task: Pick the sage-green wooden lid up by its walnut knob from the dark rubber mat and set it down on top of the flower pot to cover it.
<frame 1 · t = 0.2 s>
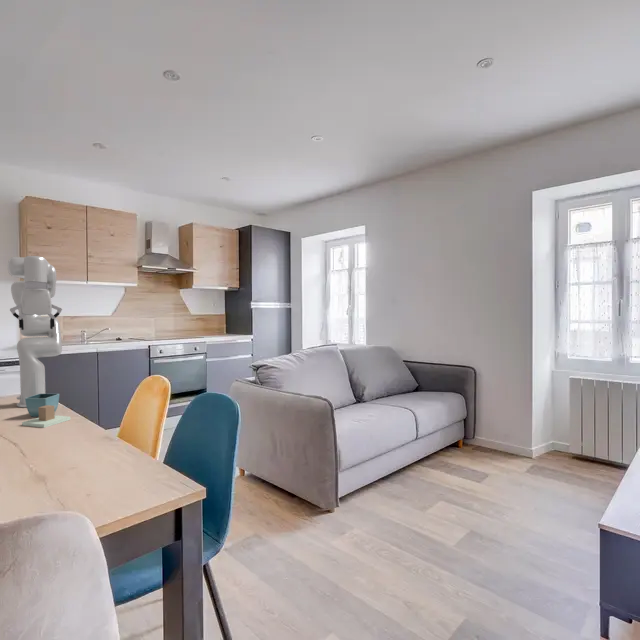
hand: (37, 329, 163), 37 cm above the table, tool pointing down, fingers open, 9 cm apart
flower pot: (43, 417, 167), on the table
lid: (46, 422, 156), point 1 cm above the table, touching mat
mat: (46, 425, 156), on the table
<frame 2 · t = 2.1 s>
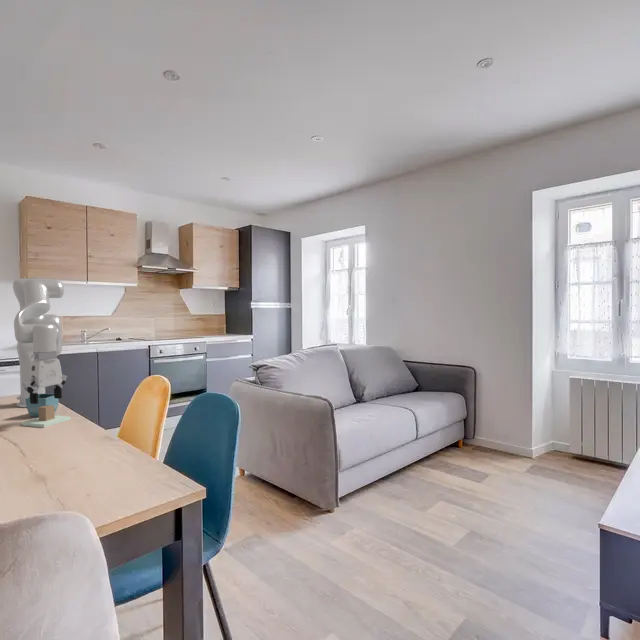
hand: (46, 400, 155), 9 cm above the table, tool pointing down, fingers open, 9 cm apart
nothing on the table moved.
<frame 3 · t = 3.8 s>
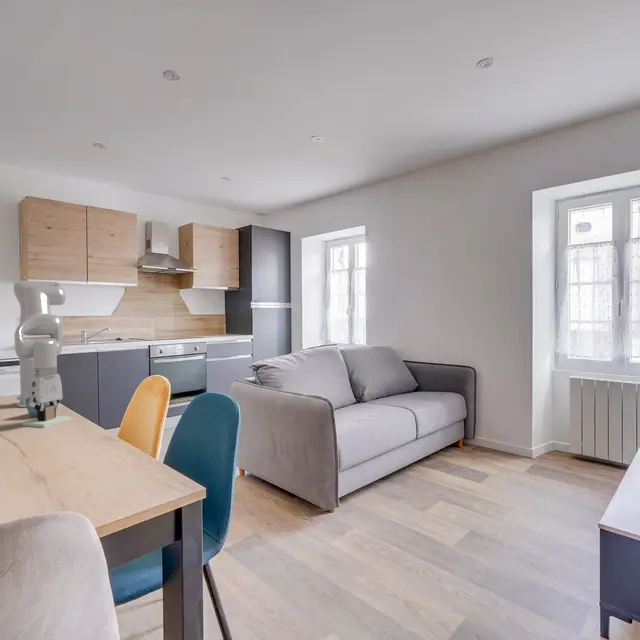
hand: (46, 418, 156), 2 cm above the table, tool pointing down, fingers closed on lid, 3 cm apart
lid: (46, 422, 156), point 1 cm above the table, touching gripper, mat
everything else where it was.
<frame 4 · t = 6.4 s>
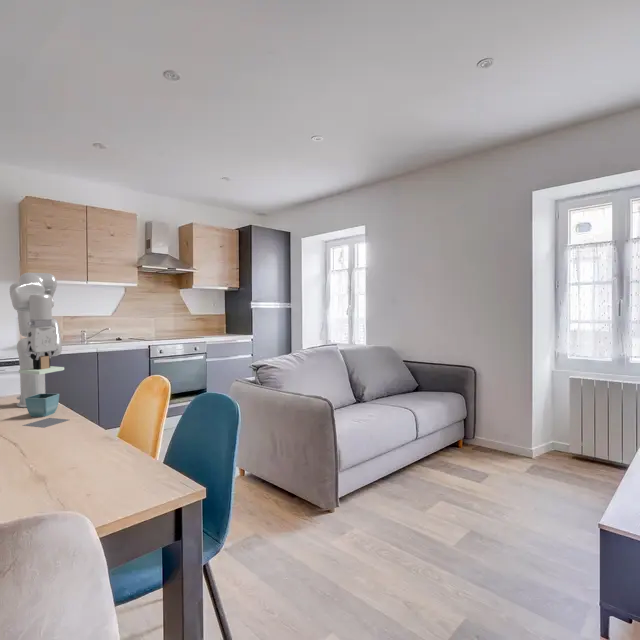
hand: (41, 367, 166), 21 cm above the table, tool pointing down, fingers closed on lid, 3 cm apart
lid: (42, 371, 166), point 19 cm above the table, touching gripper
everything else where it was.
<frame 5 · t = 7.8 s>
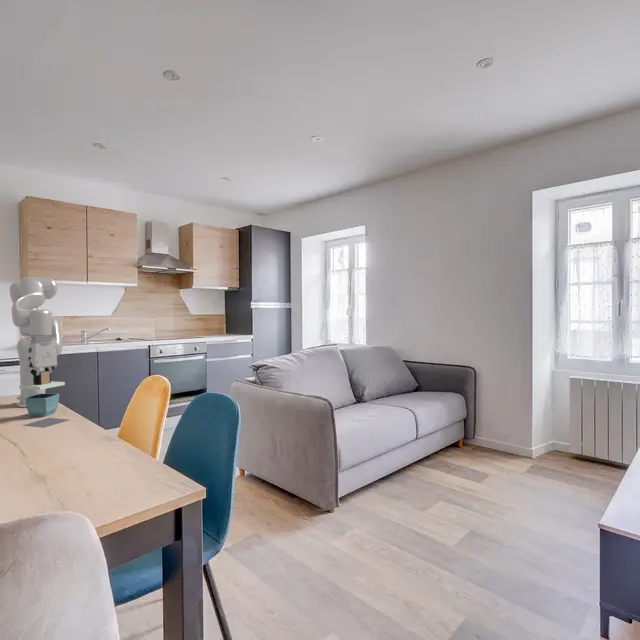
hand: (42, 383, 167), 14 cm above the table, tool pointing down, fingers closed on lid, 3 cm apart
lid: (42, 386, 167), point 13 cm above the table, touching gripper
everything else where it was.
when the fingers open (12 cm above the table, at t = 8.9 s): lid drops 2 cm, resting on flower pot.
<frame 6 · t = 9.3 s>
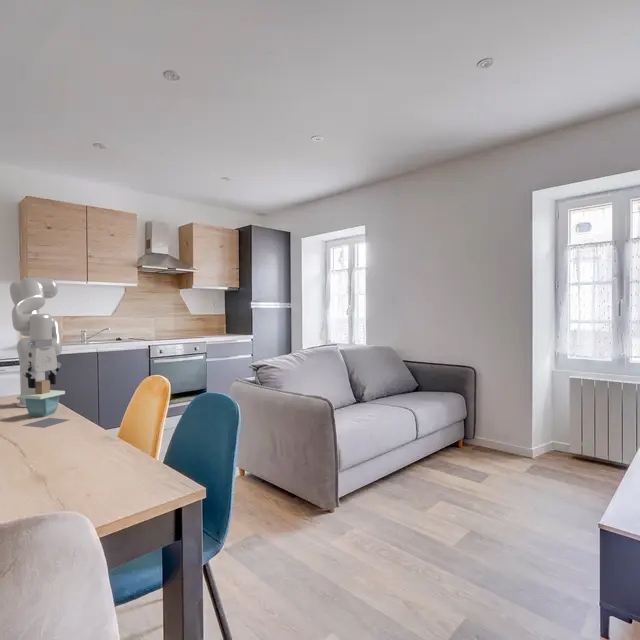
hand: (42, 385, 167), 13 cm above the table, tool pointing down, fingers open, 8 cm apart
flower pot: (43, 417, 167), on the table, touching lid
lid: (42, 395, 167), point 9 cm above the table, touching flower pot
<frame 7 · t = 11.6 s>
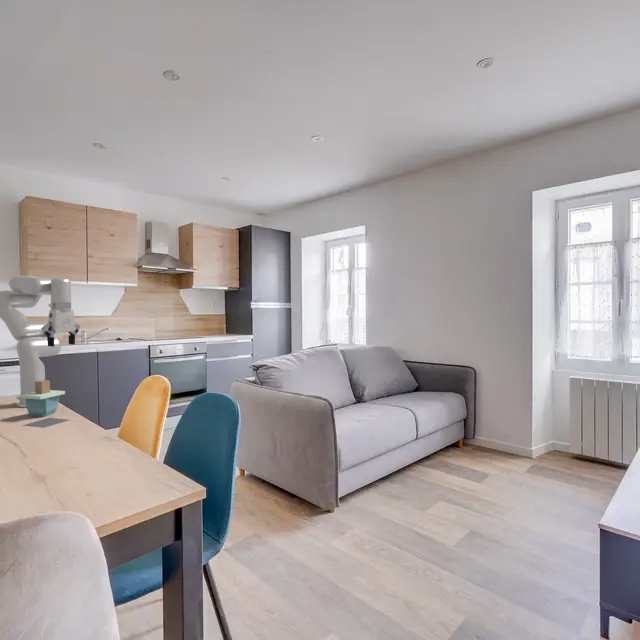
hand: (61, 345, 178), 29 cm above the table, tool pointing down, fingers open, 9 cm apart
nothing on the table moved.
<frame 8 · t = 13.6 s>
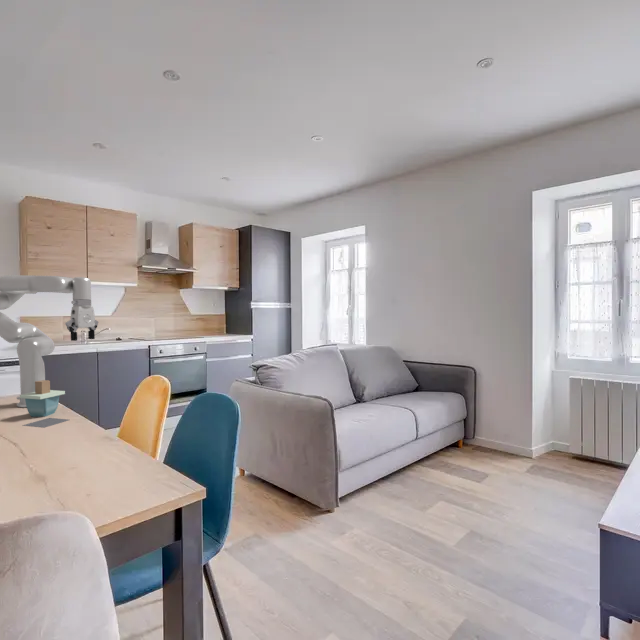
hand: (83, 339, 191), 30 cm above the table, tool pointing down, fingers open, 9 cm apart
nothing on the table moved.
at the end: lid inside the target area on the flower pot (0.1 cm from its centre), point 9.1 cm above the flower pot's base; lid tilted 0°; lid touching flower pot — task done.
